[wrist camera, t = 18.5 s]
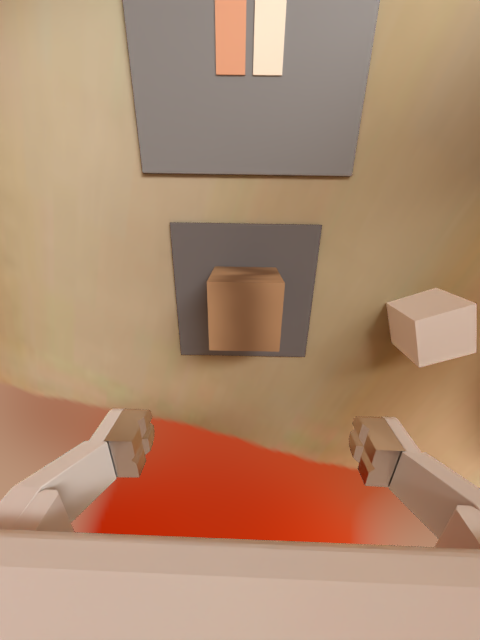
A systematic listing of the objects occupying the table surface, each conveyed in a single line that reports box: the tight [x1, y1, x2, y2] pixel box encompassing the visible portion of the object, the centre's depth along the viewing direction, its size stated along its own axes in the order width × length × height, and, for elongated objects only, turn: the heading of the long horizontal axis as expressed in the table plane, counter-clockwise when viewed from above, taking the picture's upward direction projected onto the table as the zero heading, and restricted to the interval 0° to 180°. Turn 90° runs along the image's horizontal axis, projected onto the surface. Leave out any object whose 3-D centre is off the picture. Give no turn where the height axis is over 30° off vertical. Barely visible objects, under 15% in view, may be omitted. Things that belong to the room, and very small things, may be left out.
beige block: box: [386, 288, 477, 368], centre depth 25 cm, size 5×5×5 cm
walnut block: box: [207, 266, 285, 352], centre depth 24 cm, size 6×6×6 cm
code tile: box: [123, 0, 380, 176], centre depth 19 cm, size 18×18×1 cm
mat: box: [170, 222, 322, 357], centre depth 27 cm, size 14×14×1 cm
